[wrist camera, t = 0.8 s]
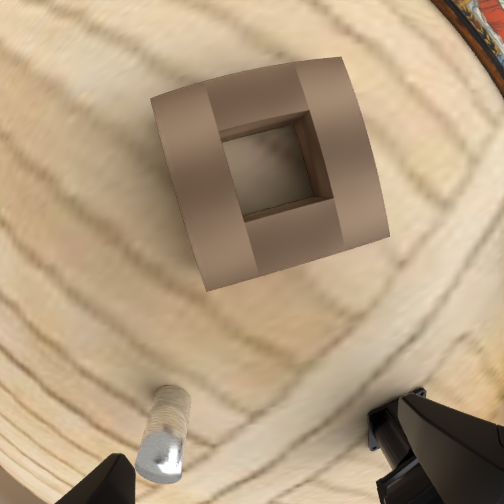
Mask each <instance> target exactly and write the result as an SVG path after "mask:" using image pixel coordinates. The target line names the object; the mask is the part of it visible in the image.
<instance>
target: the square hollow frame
mask: <svg viewBox="0 0 504 504" xmlns="http://www.w3.org/2000/svg"><path fill="white" fill-rule="evenodd" d="M150 99H151V104H152V108H153V112H154V116H155V120H156V124H157V128H158V132H159V136H160V139H161V143H162V147H163V151H164V154H165V158H166V162H167V165H168V169H169V173H170V176H171V180H172V183H173V187H174V190H175V194H176V197H177V201H178V204H179V207H180V211H181V214H182V217H183V221H184V224H185V227H186V230H187V234H188V237H189V240H190V243H191V246H192V249H193V253H194V256H195V259H196V262H197V265H198V268H199V271H200V274H201V277H202V280H203V283H204V286H205V289H206V292H207V291H211V290H215V289H218V288H222V287H225V286H229V285H232V284H236V283H239V282H243V281H246V280H250V279H253V278H257V277H260V276H263V275H267V274H270V273H274V272H277V271H280V270H284V269H287V268H291V267H294V266H297V265H301V264H304V263H307V262H311V261H314V260H317V259H320V258H324V257H327V256H330V255H333V254H337V253H340V252H343V251H346V250H349V249H353V248H356V247H359V246H362V245H365V244H369V243H372V242H375V241H378V240H381V239H384V238H387V237H390V232H389V227H388V221H387V216H386V210H385V205H384V200H383V195H382V191H381V186H380V182H379V177H378V173H377V169H376V165H375V161H374V157H373V153H372V149H371V145H370V142H369V138H368V134H367V131H366V128H365V124H364V121H363V118H362V114H361V111H360V108H359V105H358V102H357V99H356V96H355V93H354V90H353V87H352V84H351V81H350V78H349V76H348V73H347V70H346V68H345V65H344V62H343V60H342V57H333V58H323V59H314V60H306V61H298V62H292V63H285V64H279V65H273V66H268V67H262V68H257V69H252V70H248V71H243V72H239V73H234V74H230V75H226V76H222V77H218V78H214V79H210V80H207V81H203V82H200V83H196V84H193V85H189V86H186V87H183V88H180V89H176V90H173V91H170V92H167V93H164V94H161V95H159V96H156V97H153V98H150ZM290 125H294V126H295V129H296V133H297V136H298V140H299V143H300V147H301V150H302V154H303V157H304V161H305V164H306V168H307V172H308V175H309V179H310V183H311V187H312V191H313V194H314V197H310V198H306V199H302V200H299V201H295V202H291V203H288V204H284V205H280V206H277V207H273V208H269V209H266V210H262V211H259V212H255V213H252V214H248V215H245V216H242V213H241V209H240V206H239V202H238V199H237V195H236V192H235V188H234V185H233V181H232V178H231V174H230V171H229V167H228V164H227V160H226V157H225V153H224V150H223V146H222V142H225V141H229V140H233V139H236V138H240V137H244V136H248V135H252V134H256V133H260V132H264V131H268V130H272V129H277V128H281V127H286V126H290Z"/></svg>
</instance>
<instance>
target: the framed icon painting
mask: <svg viewBox="0 0 504 504" xmlns="http://www.w3.org/2000/svg"><path fill="white" fill-rule="evenodd" d="M431 1H432V2H433V4H434V5H435V6H436V7H437V8H438V9H439V10H440V11H441V12H442V13H443V14H444V16H445V17H446V18H447V19H448V20H449V21H450V22H451V24H452V25H453V26H454V27H455V28H456V30H457V31H458V32H459V33H460V35H461V36H462V37H463V38H464V40H465V41H466V42H467V44H468V45H469V46H470V48H471V49H472V50H473V52H474V53H475V55H476V56H477V57H478V59H479V60H480V62H481V63H482V64H483V66H484V67H485V69H486V70H487V72H488V73H489V75H490V76H491V78H492V79H493V81H494V83H495V84H496V86H497V87H498V89H499V91H500V93H501V94H502V96H503V98H504V0H431Z"/></svg>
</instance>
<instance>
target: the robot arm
mask: <svg viewBox="0 0 504 504" xmlns="http://www.w3.org/2000/svg"><path fill="white" fill-rule="evenodd" d="M367 417H368V434H369V448H370V450H371V451H375V450H377V449H379V448H381V450H382V452H383V453H384V455H385V457H386V459H387V461H388V462H389V464H390V466H391V468H392V469H393V471H391V472H390V473H389V474H387V475H386V476H385V477H383V478H380V479H379V480H378V481H376V484H377V491H378V495H379V499H380V503H381V504H504V426H501V425H496V424H495V423H492V422H489V421H486V420H483V419H480V418H477V417H474V416H472V415H469V414H466V413H463V412H461V411H458V410H455V409H452V408H450V407H447V406H445V405H442V404H439V403H437V402H434V401H432V400H429V399H427V398H426V390H425V389H424V388H420V389H418V390H416V391H414V392H412V393H408V394H406V395H403V396H401V397H400V398H399V399H398V400H396V401H393V402H391V403H389V404H387V405H385V406H382V407H380V408H378V409H375V410H373V411H371V412H369V413H368V416H367ZM135 479H136V473H135V469H134V467H133V466H132V464H131V463H130V462H129V460H128V459H127V458H126V456H125V455H124V454H122V453H112V454H111V455H109V456H108V457H107V458H106V459H105V460H104V461H103V462H102V463H101V464H99V465H98V466H97V467H96V468H95V469H94V470H93V471H92V472H91V473H89V474H88V475H87V476H86V477H85V478H84V479H83V480H82V481H80V482H79V483H78V484H77V485H76V486H75V487H74V488H72V489H71V490H70V491H69V492H68V493H67V494H65V495H64V496H63V497H62V498H61V499H60V500H58V501H57V502H56V503H55V504H135Z"/></svg>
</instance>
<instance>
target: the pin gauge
mask: <svg viewBox="0 0 504 504" xmlns="http://www.w3.org/2000/svg"><path fill="white" fill-rule="evenodd" d="M190 407H191V398H190V396H189V394H188V393H187V392H186V391H185V390H184V389H182V388H180V387H177V386H172V385H168V386H163V387H161V388H160V389H158V391H157V392H156V395H155V398H154V402H153V405H152V408H151V411H150V414H149V418H148V421H147V424H146V428H145V431H144V435H143V438H142V441H141V445H140V448H139V452H138V455H137V459H136V462H135V469H136V471H137V472H138V473H139V474H140V475H141V476H142V477H144V478H146V479H148V480H150V481H153V482H156V483H161V484H171V483H175V482H177V481H179V480H180V479H181V475H182V467H183V459H184V451H185V443H186V436H187V428H188V421H189V414H190Z"/></svg>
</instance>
